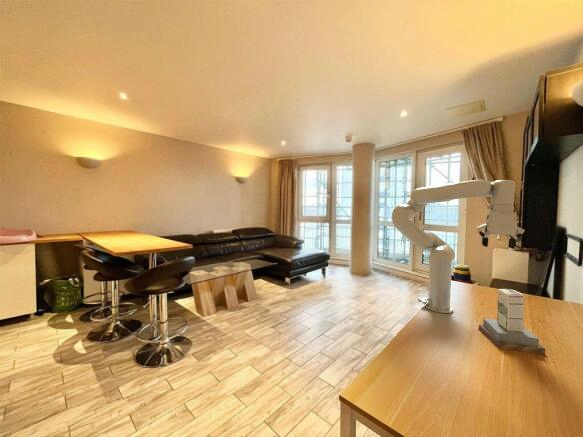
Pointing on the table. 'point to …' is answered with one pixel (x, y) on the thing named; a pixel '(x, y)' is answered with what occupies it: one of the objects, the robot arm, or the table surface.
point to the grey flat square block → (510, 345)
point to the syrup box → (510, 310)
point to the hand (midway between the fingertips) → (498, 247)
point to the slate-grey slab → (510, 334)
